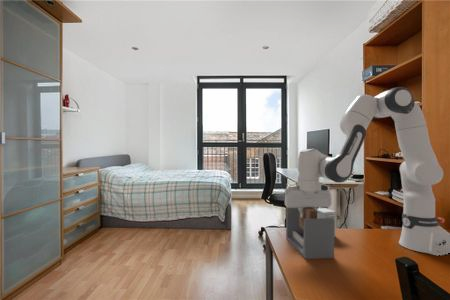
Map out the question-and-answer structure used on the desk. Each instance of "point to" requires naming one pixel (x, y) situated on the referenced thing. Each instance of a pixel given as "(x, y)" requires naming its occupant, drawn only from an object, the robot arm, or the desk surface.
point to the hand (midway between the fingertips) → (307, 217)
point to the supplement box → (327, 215)
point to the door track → (310, 235)
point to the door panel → (307, 215)
